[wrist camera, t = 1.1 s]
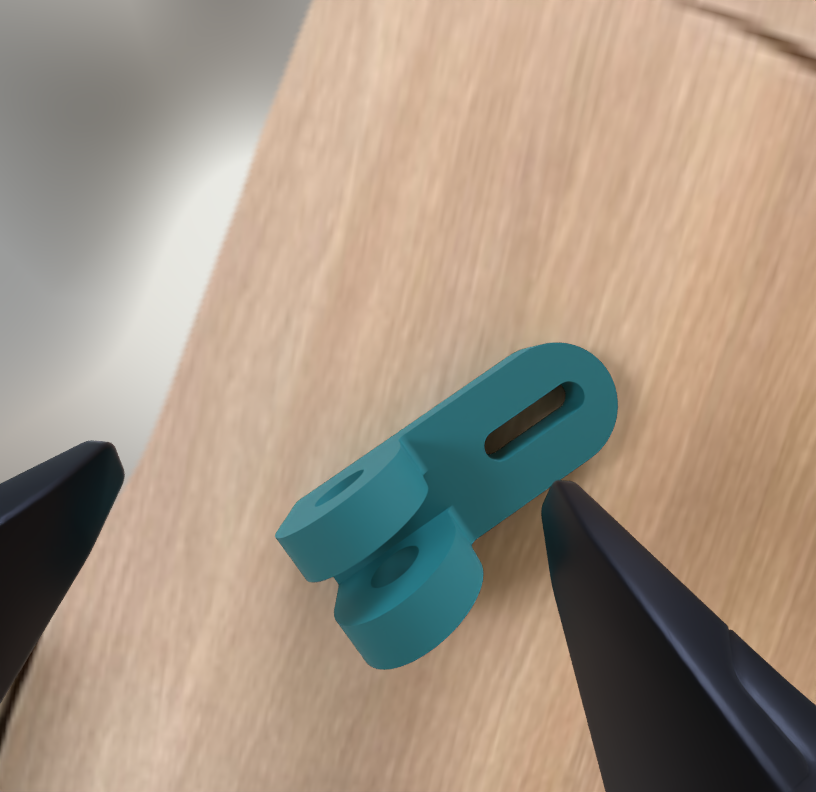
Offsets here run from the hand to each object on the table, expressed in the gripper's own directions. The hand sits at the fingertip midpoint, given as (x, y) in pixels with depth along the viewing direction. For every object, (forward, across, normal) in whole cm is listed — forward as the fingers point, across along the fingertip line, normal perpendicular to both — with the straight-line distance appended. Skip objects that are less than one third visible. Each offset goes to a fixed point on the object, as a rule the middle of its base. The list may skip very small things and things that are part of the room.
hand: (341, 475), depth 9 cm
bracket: (+12, -6, +10) cm, 16 cm away
